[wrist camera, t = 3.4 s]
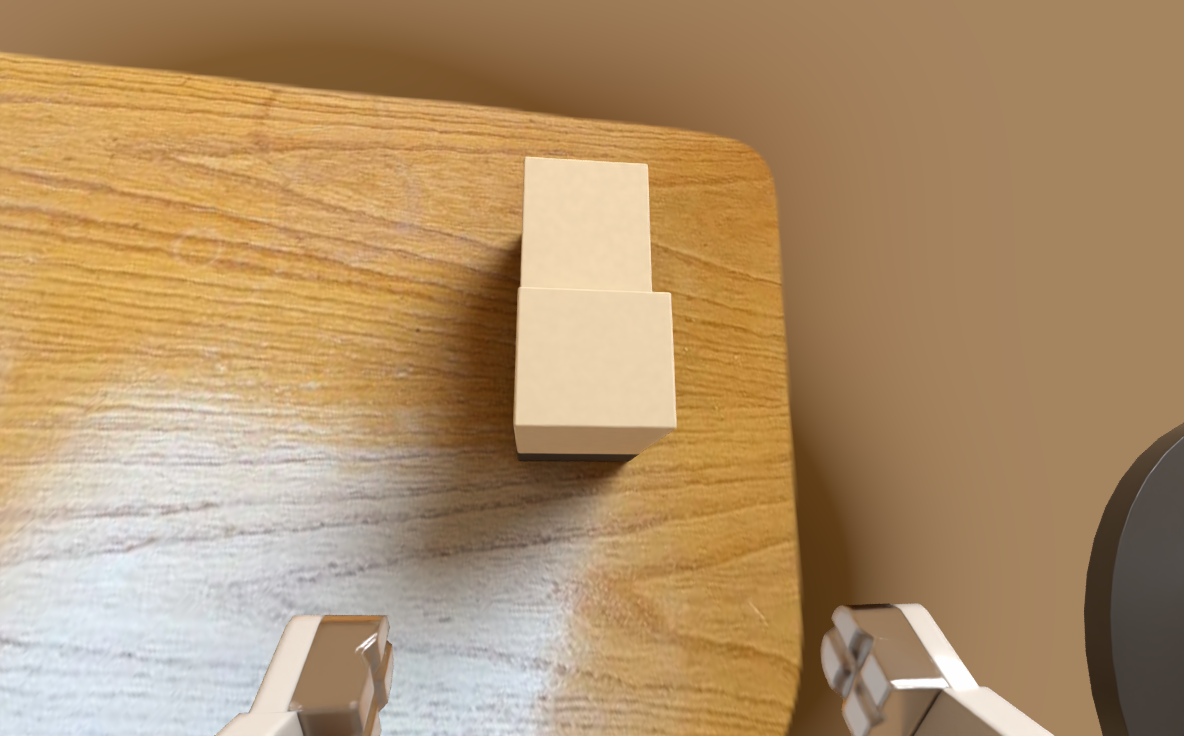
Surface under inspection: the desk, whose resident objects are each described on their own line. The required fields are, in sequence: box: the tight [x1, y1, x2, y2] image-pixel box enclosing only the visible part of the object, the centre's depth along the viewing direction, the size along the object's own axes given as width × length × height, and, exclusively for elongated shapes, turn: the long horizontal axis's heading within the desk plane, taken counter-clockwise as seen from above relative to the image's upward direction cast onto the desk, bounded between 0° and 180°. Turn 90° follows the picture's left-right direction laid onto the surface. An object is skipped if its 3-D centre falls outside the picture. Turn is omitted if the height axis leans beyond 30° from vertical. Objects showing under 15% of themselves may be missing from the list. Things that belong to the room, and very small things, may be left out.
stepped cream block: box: [513, 157, 677, 462], centre depth 21 cm, size 4×10×8 cm, turn 0°
